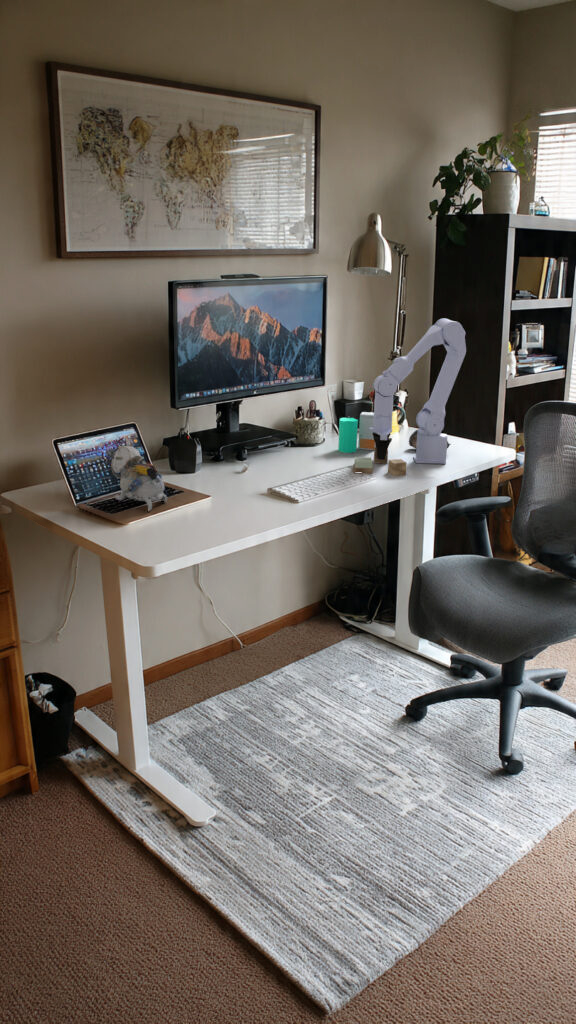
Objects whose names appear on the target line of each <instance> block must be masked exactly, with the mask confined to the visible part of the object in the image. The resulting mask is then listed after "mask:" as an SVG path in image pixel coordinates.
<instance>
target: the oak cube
mask: <svg viewBox="0 0 576 1024" xmlns="http://www.w3.org/2000/svg"><path fill="white" fill-rule="evenodd" d="M407 463H408V462H407V461H405V460H403V459H402V458H395V459H388V462H387V464H388V467H387V473H388V474H390V475H391V476H393V477H400V476H406V475H407Z"/></svg>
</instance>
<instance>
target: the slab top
mask: <svg viewBox="0 0 576 1024" xmlns="http://www.w3.org/2000/svg"><path fill="white" fill-rule="evenodd" d="M353 460H354V462H353V465H354V464H355V468H373V460H372V457H367V456H366V457H364V456H362V457H359V456H358V457H357V456H355V457H354V459H353Z"/></svg>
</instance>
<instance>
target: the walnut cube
mask: <svg viewBox="0 0 576 1024" xmlns="http://www.w3.org/2000/svg"><path fill="white" fill-rule="evenodd" d="M388 456H389V449H387V453H386V457H385V459H378V457H377V448H374V452H373V461H374V462H373V463H374V464H388V463H389V459H388V458H389V457H388Z"/></svg>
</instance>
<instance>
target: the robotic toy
mask: <svg viewBox="0 0 576 1024" xmlns="http://www.w3.org/2000/svg"><path fill="white" fill-rule="evenodd" d="M107 455H108V456H110V459H111V460H110V461H111V462H110V467H111V472H112V475H115V477H116V478H118V479H120V482H119V488H120V489H121V492H120V495H119V494H116V495H115V496H114V498H115V499H116V500H118V501H124V500H125V499H127V498H128V499H131V500H136V501H139V502H145V503H146V505H147V510H148V511H149V510H151V511H152V509H153V502H159V501H160V500H161V501H164V502H163V503H166V502H167V501H168V495H167V494H168V492H167V489H166V488H165V483H164V481H163V477H162V475H161V474H159V472H158V470H156V469H157V468H156V465H154V464H151V463H149V462H147V463H146V461H145V460H143V459H142V456H141V453H140V451H138V449H136V448H135V447H133V446H130V445H124V446H123V445H119V446H118V445H117V447H116V448H115V449H114V448H109V449H108V451H107ZM141 461H143V462H145V463H143V462H142V463H140V462H141ZM114 472H115V473H114ZM119 473H120V475H119ZM164 491H165V492H166V494H165V493H164ZM165 501H166V502H165Z"/></svg>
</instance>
